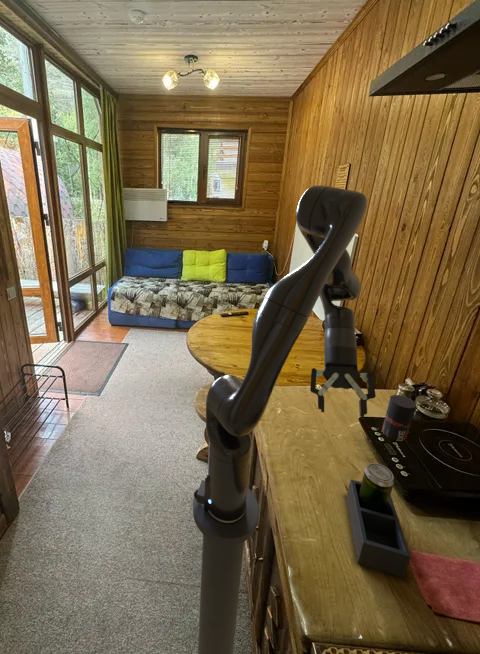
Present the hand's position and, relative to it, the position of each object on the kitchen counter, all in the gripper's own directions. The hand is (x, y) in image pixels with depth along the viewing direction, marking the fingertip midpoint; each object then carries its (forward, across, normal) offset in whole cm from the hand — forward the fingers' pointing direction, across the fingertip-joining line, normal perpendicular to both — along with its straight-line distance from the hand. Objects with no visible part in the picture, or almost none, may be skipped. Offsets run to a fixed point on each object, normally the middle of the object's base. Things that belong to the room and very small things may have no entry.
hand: (342, 414), depth 74 cm
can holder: (+23, +5, 0) cm, 24 cm away
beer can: (+21, +5, +3) cm, 21 cm away
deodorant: (+7, +15, +26) cm, 30 cm away
